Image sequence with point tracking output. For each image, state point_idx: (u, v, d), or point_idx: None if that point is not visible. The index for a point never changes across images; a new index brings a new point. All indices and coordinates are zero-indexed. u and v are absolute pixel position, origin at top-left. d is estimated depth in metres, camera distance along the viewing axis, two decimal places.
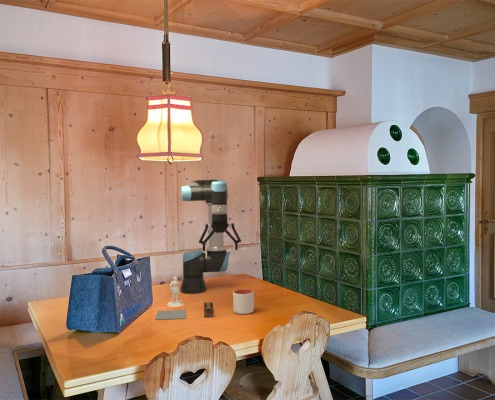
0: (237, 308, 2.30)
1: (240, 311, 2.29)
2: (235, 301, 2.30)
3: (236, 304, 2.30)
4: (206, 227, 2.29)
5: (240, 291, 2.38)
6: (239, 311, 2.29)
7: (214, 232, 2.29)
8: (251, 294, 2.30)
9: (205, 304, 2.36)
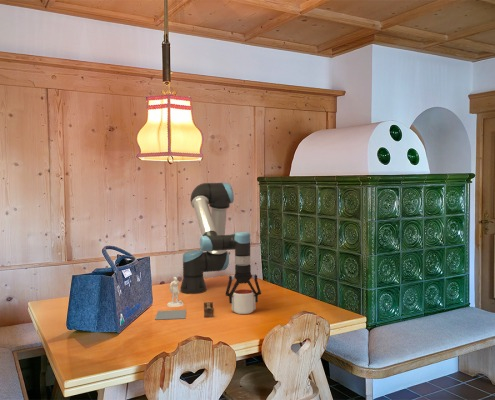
0: (237, 308, 2.30)
1: (240, 311, 2.29)
2: (235, 301, 2.30)
3: (236, 304, 2.30)
4: (230, 279, 2.31)
5: (240, 291, 2.38)
6: (239, 311, 2.29)
7: None
8: (251, 294, 2.30)
9: (205, 304, 2.36)
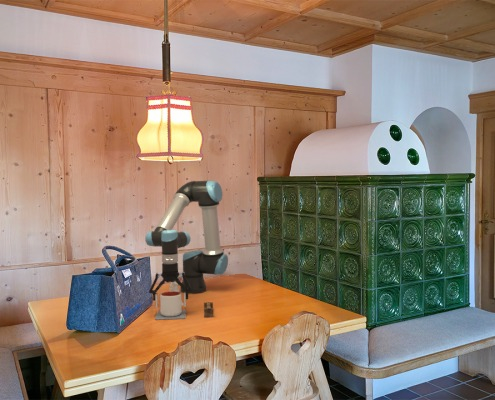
0: (163, 311, 2.26)
1: (166, 313, 2.25)
2: (161, 303, 2.26)
3: (162, 306, 2.26)
4: (156, 277, 2.27)
5: (169, 293, 2.34)
6: (165, 313, 2.25)
7: None
8: (178, 296, 2.26)
9: (205, 304, 2.36)
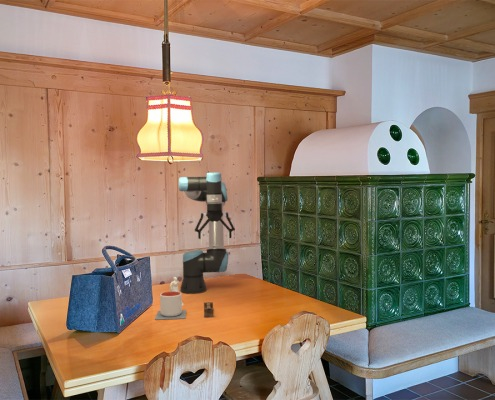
0: (163, 311, 2.26)
1: (166, 313, 2.25)
2: (161, 303, 2.26)
3: (162, 306, 2.26)
4: (201, 216, 2.40)
5: (169, 293, 2.34)
6: (165, 313, 2.25)
7: (209, 221, 2.40)
8: (178, 296, 2.26)
9: (205, 304, 2.36)
